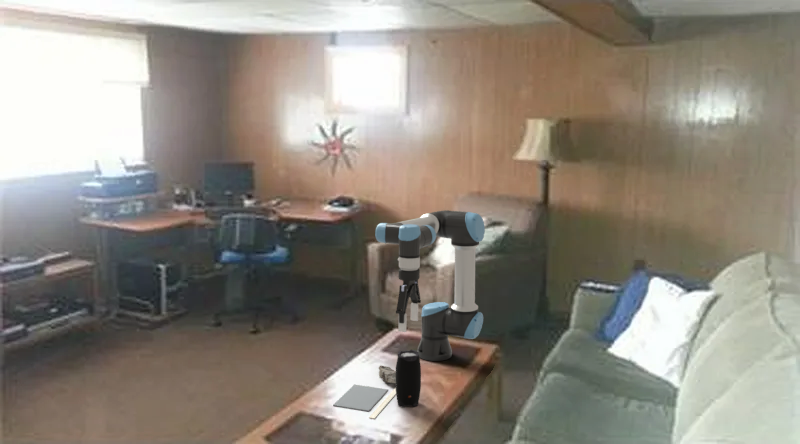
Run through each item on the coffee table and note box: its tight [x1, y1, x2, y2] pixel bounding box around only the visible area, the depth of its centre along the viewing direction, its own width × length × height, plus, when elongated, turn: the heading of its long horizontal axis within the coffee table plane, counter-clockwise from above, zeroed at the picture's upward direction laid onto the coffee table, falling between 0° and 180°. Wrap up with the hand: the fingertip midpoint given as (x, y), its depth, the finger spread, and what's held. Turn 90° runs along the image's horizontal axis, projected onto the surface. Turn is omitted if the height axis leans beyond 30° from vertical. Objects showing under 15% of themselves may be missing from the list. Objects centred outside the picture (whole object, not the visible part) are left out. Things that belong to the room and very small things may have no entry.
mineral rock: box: [378, 365, 396, 385], centre depth 278 cm, size 15×8×4 cm, turn 15°
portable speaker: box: [395, 349, 422, 408], centre depth 256 cm, size 9×9×20 cm
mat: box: [332, 384, 389, 412], centre depth 262 cm, size 20×14×1 cm
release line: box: [368, 387, 397, 420], centre depth 259 cm, size 30×2×1 cm, turn 161°
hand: (408, 325), depth 253 cm, fingers open, 13 cm apart
